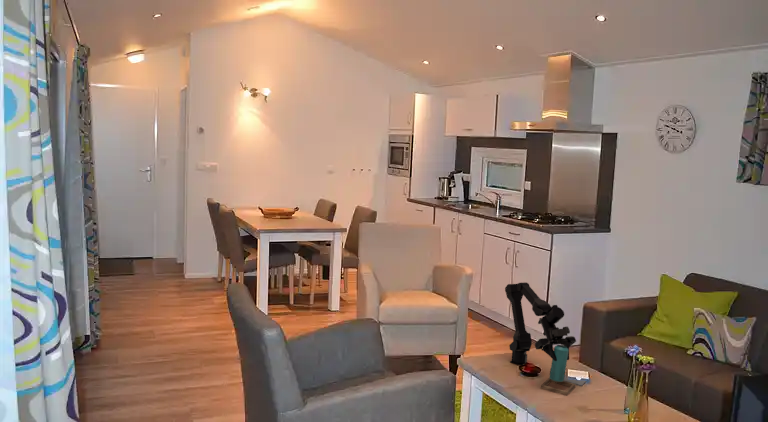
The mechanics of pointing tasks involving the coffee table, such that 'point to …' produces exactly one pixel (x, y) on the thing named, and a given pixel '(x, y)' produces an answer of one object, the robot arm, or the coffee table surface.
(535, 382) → the coffee table surface
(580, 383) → the grey coaster
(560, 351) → the beverage bottle
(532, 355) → the coffee table surface
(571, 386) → the walnut collar
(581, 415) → the coffee table surface
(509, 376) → the coffee table surface
